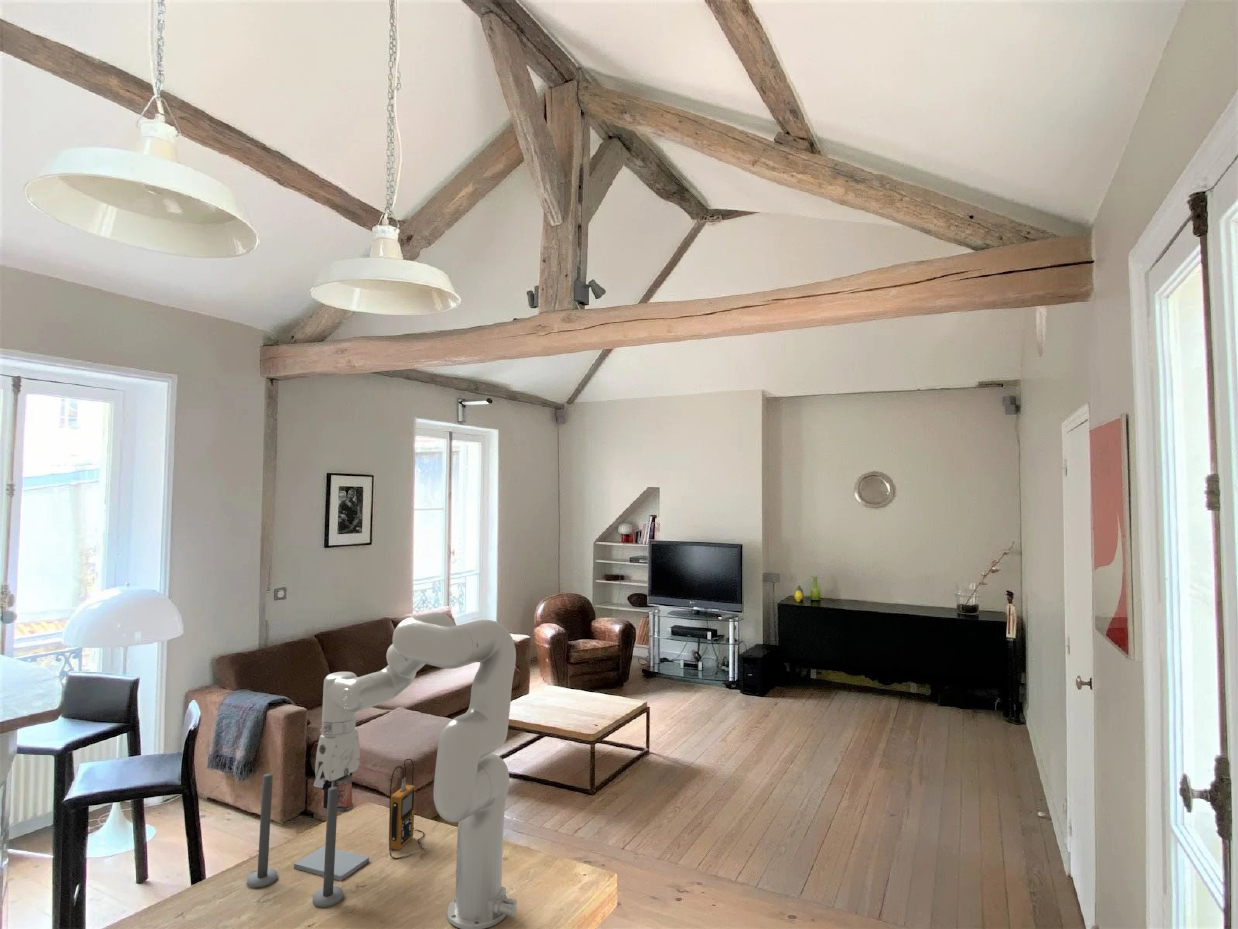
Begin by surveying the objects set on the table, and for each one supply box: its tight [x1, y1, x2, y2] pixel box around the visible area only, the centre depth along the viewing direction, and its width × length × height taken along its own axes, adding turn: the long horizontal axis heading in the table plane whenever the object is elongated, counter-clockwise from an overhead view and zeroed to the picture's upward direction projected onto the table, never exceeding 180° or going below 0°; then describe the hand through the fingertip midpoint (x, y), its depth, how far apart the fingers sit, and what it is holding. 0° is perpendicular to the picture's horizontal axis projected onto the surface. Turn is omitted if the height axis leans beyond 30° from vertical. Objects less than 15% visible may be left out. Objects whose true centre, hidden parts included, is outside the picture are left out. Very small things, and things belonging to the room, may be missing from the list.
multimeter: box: [388, 758, 428, 860], centre depth 166 cm, size 15×10×20 cm
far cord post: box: [246, 773, 278, 888], centre depth 149 cm, size 6×6×23 cm
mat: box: [293, 845, 370, 882], centre depth 155 cm, size 14×9×1 cm, turn 70°
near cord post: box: [312, 787, 344, 908], centre depth 142 cm, size 6×6×23 cm
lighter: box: [321, 768, 354, 813], centre depth 157 cm, size 8×3×10 cm, turn 73°
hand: (335, 804), depth 156 cm, fingers closed on lighter, 2 cm apart
